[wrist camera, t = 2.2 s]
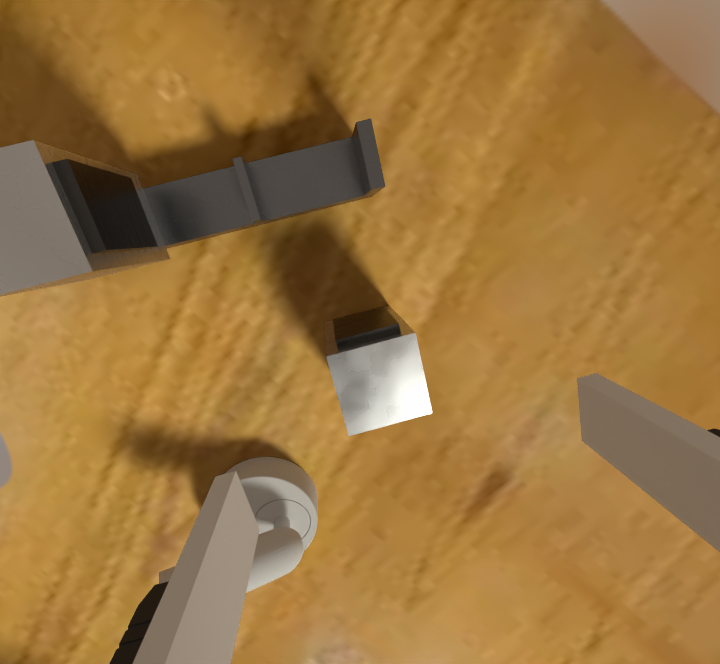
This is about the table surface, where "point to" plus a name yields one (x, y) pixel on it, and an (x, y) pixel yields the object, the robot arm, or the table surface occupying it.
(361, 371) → the light grey block
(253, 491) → the wall hook
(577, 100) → the table surface
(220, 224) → the dark grey block holder
